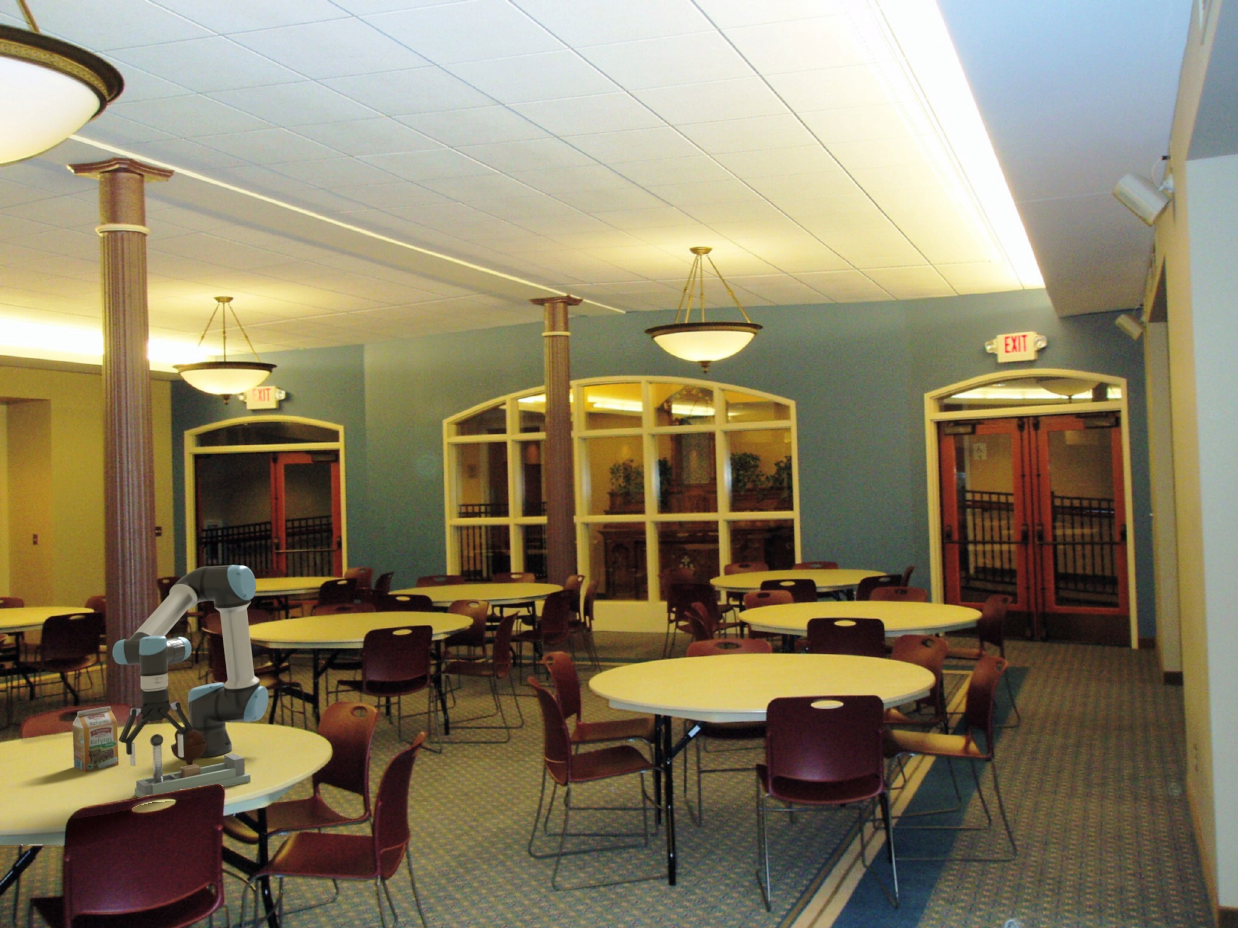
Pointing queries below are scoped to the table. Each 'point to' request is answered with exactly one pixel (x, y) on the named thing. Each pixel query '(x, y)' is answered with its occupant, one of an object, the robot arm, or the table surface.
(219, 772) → the grey slotted track
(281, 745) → the table surface
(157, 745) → the lever
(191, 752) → the ice cream bowl
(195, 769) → the walnut block
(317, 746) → the table surface
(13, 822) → the table surface
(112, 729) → the milk carton
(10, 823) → the table surface
